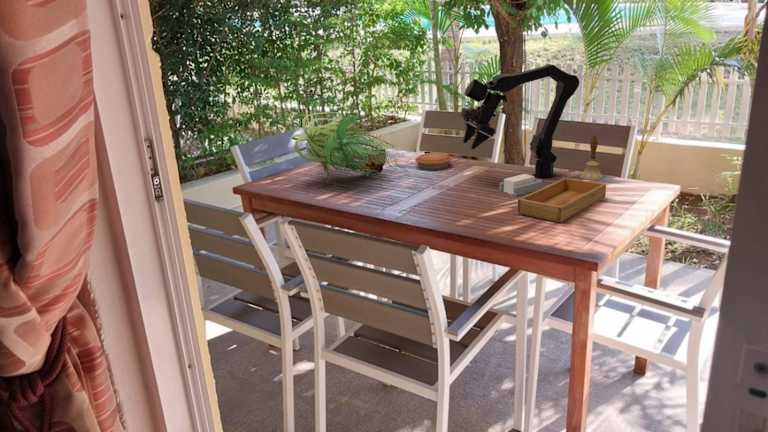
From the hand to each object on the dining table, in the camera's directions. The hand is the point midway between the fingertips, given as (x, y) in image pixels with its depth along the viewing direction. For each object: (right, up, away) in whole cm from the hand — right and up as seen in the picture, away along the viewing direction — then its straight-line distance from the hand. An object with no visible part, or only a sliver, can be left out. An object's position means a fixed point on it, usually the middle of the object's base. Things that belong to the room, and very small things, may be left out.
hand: (468, 145), depth 224 cm
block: (+17, -17, -8) cm, 26 cm away
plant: (-43, -13, +14) cm, 47 cm away
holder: (+18, -17, -8) cm, 26 cm away
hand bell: (+47, -12, +3) cm, 48 cm away
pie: (-10, -5, +31) cm, 33 cm away
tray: (+27, -23, -26) cm, 44 cm away
